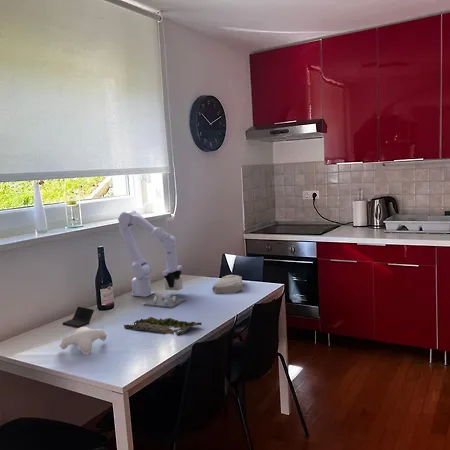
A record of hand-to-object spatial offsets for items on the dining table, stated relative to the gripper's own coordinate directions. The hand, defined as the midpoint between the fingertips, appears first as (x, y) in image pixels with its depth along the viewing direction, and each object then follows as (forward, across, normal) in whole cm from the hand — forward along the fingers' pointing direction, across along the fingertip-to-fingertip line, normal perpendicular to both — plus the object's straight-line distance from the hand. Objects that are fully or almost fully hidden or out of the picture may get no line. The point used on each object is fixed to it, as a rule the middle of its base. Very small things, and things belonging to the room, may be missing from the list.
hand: (173, 286), depth 239 cm
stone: (+5, +19, -24) cm, 30 cm away
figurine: (+5, -70, -7) cm, 71 cm away
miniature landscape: (+5, -43, -23) cm, 49 cm away
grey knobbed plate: (+4, -14, -4) cm, 15 cm away
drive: (+1, 0, 0) cm, 1 cm away
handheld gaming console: (+5, -49, +17) cm, 52 cm away
